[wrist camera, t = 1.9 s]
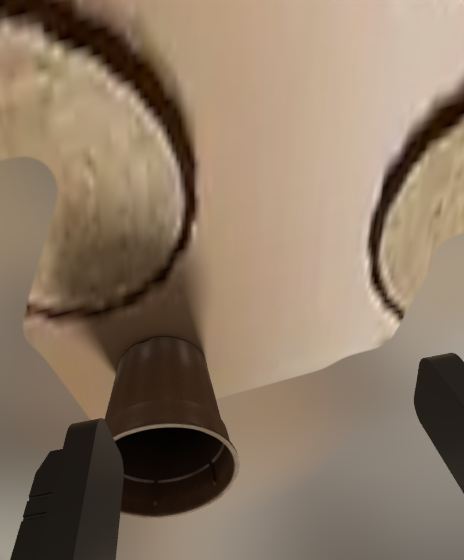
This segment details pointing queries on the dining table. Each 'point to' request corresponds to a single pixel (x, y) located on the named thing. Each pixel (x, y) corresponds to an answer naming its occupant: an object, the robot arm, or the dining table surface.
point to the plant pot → (168, 431)
